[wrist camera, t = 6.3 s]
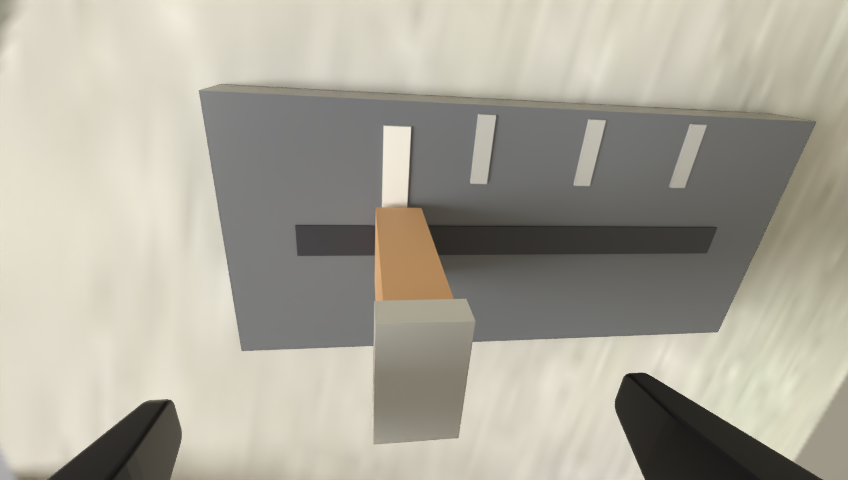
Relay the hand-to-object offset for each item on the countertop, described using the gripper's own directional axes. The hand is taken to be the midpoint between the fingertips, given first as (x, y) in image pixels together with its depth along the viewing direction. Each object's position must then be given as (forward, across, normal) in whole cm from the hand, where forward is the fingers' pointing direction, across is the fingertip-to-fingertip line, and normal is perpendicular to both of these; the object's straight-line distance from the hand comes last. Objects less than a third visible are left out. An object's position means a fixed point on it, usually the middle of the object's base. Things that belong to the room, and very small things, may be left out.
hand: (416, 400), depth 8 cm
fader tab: (+7, 0, 0) cm, 7 cm away
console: (+10, -5, 0) cm, 11 cm away
